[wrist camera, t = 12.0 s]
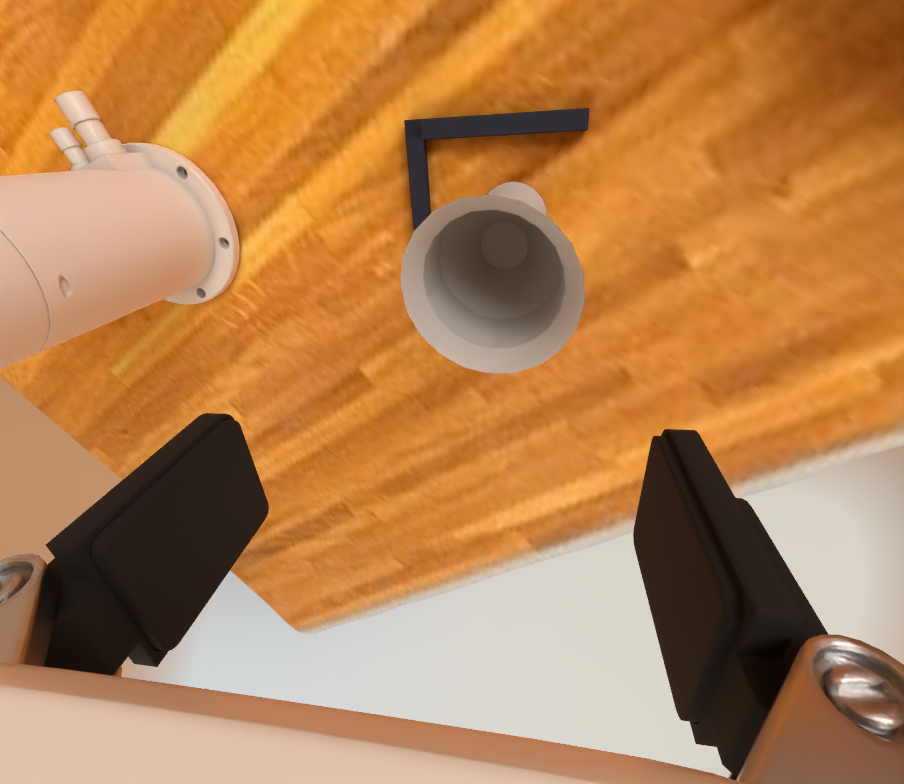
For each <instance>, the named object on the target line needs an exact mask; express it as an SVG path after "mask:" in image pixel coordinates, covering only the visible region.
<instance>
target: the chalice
mask: <svg viewBox="0 0 904 784" xmlns="http://www.w3.org/2000/svg"><path fill="white" fill-rule="evenodd" d="M400 286H401V290H402V294H403V298H404V302H405V306H406V310H407V313H408V315H409V316H410V318H411V320H412V321H413V323H414V325H415V327H416V328H417V330H418V332H419V333H420V335H421V336H422V337H423V338H424V339H425V340H426V341H427V342H428V343H429V344H430V345H431V346H432V347H433V348H434V349H435V350H436V351H437V352H438V353H439V354H441V355H443V356H444V357H446V358H448V359H450V360H451V361H453V362H455V363H457V364H459V365H460V366H462V367H465V368H469V369H473V370H477V371H480V372H484V373H516V372H519V371H522V370H526V369H529V368H532V367H535V366H538V365H540V364H542V363H543V362H545V361H546V360H547V359H549V358H550V357H552V356H553V355H554V354H556V353H557V352H559V351H560V350H561V349H562V348H563V346H564V345H565V344H566V342H567V341H568V340H569V338H570V337H571V335H572V334H573V333H574V331H575V330H576V328H577V326H578V323H579V319H580V316H581V312H582V309H583V306H584V302H585V294H584V276H583V270H582V267H581V265H580V262H579V260H578V257H577V255H576V252H575V250H574V247H573V245H572V243H571V242H570V241H569V239H568V238H567V237H566V236H565V235H564V233H563V232H562V231H561V230H560V229H559V228H558V226H557V225H556V224H555V223H554V222H553V220H552V219H550V218H549V217H547V213H546V207H545V204H544V202H543V199H542V198H541V196H540V195H539V194H538V193H537V191H536V190H535V189H533V188H532V187H530V186H528V185H527V184H524V183H519V182H508V183H503V184H501V185H499V186H497V187H495V188H493V189H492V190H491V191H490V192H489V193H488V194H487V195H483V196H472V197H462V198H459V199H457V200H455V201H453V202H451V203H449V204H447V205H445V206H442V207H440V208H438V209H436V210H434V211H433V212H432V213H431V214H430V215H429V216H428V217H427V218H426V219H425V220H424V221H423V222H422V223H421V225H420V226H419V227H418V228H417V229H416V230H415V231H414V232H413V234H412V236H411V239H410V241H409V243H408V246H407V248H406V250H405V253H404V255H403V257H402V269H401V285H400Z"/></svg>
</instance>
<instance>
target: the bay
mask: <svg viewBox="0 0 904 784" xmlns="http://www.w3.org/2000/svg"><path fill="white" fill-rule="evenodd" d="M588 120H589V108H584V109H569V110H554V111H538V112H523V113H508V114H493V115H477V116H462V117H447V118H431V119H416V120H405V121H404V122H405V134H406V145H407V157H408V168H409V180H410V191H411V203H412V214H413V226H414V231H415V230H416V229H417V228H418V227H419V226H420V225H421V223H422V222H423V221H424V220H425V219H426V218H427V217H428V216H429V215H430V214H431V207H430V192H429V178H428V163H427V148H426V140H431V139H448V138H466V137H483V136H501V135H518V134H535V133H553V132H570V131H586V130H587V129H588Z"/></svg>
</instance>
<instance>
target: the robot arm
mask: <svg viewBox="0 0 904 784" xmlns="http://www.w3.org/2000/svg"><path fill="white" fill-rule="evenodd" d="M55 102H56V103H57V105H58V106H59V108H60V109H61V111H62V112H63V114H64V115H65V117H66V118H67V120H68V121H69V123H70V124H71V126H72V127H73V128H74V129H75V130H76V131H77V132H78V134H79V135H80V137H81V138H82V140H83V141H84V143H85V144H86V146H87V147H86V148H85V149H84V151H83V149H82V146H81V144H80V143H79V141H78V140H77V138H76V137H75V135H74V134H73V132H72V131H71V129H70V128H68V127H62V128H58V129H54V130H52V131H51V132H50V133H49V134H50V135H51V137H52V138H53V140H54V141H55V143H56V144H57V146H58V147H59V148H60V150H61V151H62V153H64V154H65V155H66V157H67V158H68V160H69V161H70V163H71V164H72V167H71V168H70V170H71V171H63V172H49V173H35V174H21V175H6V176H0V369H3V368H5V367H7V366H9V365H12V364H14V363H16V362H19V361H21V360H23V359H25V358H28V357H30V356H33V355H35V354H38V353H40V352H42V351H45V350H47V349H49V348H51V347H54V346H56V345H58V344H61V343H63V342H65V341H68V340H70V339H72V338H75V337H77V336H79V335H81V334H84V333H86V332H88V331H91V330H93V329H95V328H98V327H100V326H102V325H105V324H107V323H109V322H112V321H114V320H116V319H118V318H121V317H123V316H125V315H128V314H130V313H132V312H135V311H137V310H139V309H142V308H144V307H146V306H148V305H151V304H153V303H155V302H158V301H160V300H162V299H163V300H166V301H169V302H173V303H178V304H198V303H203V302H206V301H208V300H210V299H212V298H215V297H216V296H218V295H219V294H221V293H222V292H224V291H225V290H226V289H227V287H228V286H229V285H230V284H231V283H232V281H233V279H234V277H235V274H236V272H237V268H238V264H239V255H240V245H239V238H238V231H237V228H236V225H235V222H234V219H233V216H232V214H231V211H230V209H229V207H228V205H227V203H226V201H225V199H224V198H223V196H222V195H221V193H220V192H219V190H218V189H217V187H216V186H215V185H214V183H213V182H212V181H211V180H210V179H209V178H208V177H207V176H206V174H205V173H204V172H203V171H202V170H200V169H199V168H198V167H197V166H196V165H195V164H193V163H192V162H191V161H190V160H188V159H187V158H185V157H184V156H182V155H180V154H179V153H177V152H175V151H173V150H171V149H168V148H166V147H163V146H161V145H156V144H150V143H126V144H122V143H121V142H120V141H119V140H118V139H112V138H111V136H110V135H109V133H108V132H107V130H106V129H105V127H104V125H103V124H102V119H101V118H100V116H99V115H98V113H97V111H96V110H95V108H94V107H93V105H92V104H91V102H90V100H89V99H88V97H87V96H86V94H85V93H84V92H82V91H69V92H65V93H62V94H60V95H58V96H57V97H56V98H55ZM268 509H269V505H268V501H267V499H266V496H265V493H264V490H263V488H262V485H261V482H260V479H259V476H258V474H257V471H256V468H255V465H254V463H253V460H252V457H251V454H250V451H249V449H248V446H247V443H246V440H245V437H244V435H243V432H242V429H241V426H240V424H239V423H238V422H237V421H235V420H234V418H233V417H232V416H231V415H228V414H212V413H206V414H202V415H200V416H199V417H197V418H196V419H195V420H194V421H193V422H191V423H190V424H189V425H188V426H187V427H185V428H184V429H183V430H182V431H181V432H180V433H178V434H177V435H176V436H175V437H174V438H172V439H171V440H170V441H169V442H168V443H166V444H165V445H164V446H163V447H162V448H160V449H159V450H158V451H157V452H156V453H155V454H153V455H152V456H151V457H150V458H149V459H147V460H146V461H145V462H144V463H143V464H141V465H140V466H139V467H138V468H137V469H135V470H134V471H133V472H132V473H131V474H129V475H128V476H127V477H126V478H125V479H124V480H122V481H121V482H120V483H119V484H118V485H117V486H115V487H114V488H113V489H112V490H110V491H109V492H108V493H107V494H106V495H105V496H103V497H102V498H101V499H100V500H99V501H97V502H96V503H95V504H94V505H93V506H91V507H90V508H89V509H88V510H87V511H85V512H84V513H83V514H82V515H81V516H80V517H78V518H77V519H76V520H75V521H73V522H72V523H71V524H70V525H69V526H68V527H66V528H65V529H64V530H63V531H62V532H60V533H59V534H58V535H57V536H56V537H54V538H53V539H52V540H51V541H50V542H49V543H48V544H46V546H47V547H48V549H49V550H50V551H51V553H52V554H53V555H54V557H55V559H53V560H52V561H51V562H50V563H49V564H48V565H47V564H46V562H45V561H44V560H43V559H42V558H41V557H40V556H38V555H33V554H24V555H16V556H13V557H10V558H6V559H3V560H0V784H904V665H903V664H902V663H900V662H899V661H897V660H895V659H894V658H892V657H891V656H889V655H888V654H886V653H885V652H883V651H882V650H880V649H877V648H875V647H873V646H871V645H869V644H866V643H864V642H862V641H860V640H856V639H852V638H849V637H845V636H841V635H828V633H827V631H826V630H825V628H824V627H823V625H822V623H821V621H820V620H819V618H818V617H817V615H816V613H815V612H814V610H813V608H812V606H811V605H810V603H809V601H808V600H807V598H806V597H805V595H804V593H803V591H802V590H801V588H800V587H799V585H798V583H797V582H796V580H795V578H794V577H793V575H792V573H791V572H790V570H789V568H788V567H787V565H786V563H785V562H784V560H783V558H782V557H781V555H780V553H779V552H778V550H777V548H776V547H775V545H774V543H773V542H772V540H771V538H770V537H769V535H768V533H767V532H766V530H765V528H764V527H763V525H762V523H761V522H760V520H759V518H758V517H757V515H756V513H755V512H754V510H753V509H752V507H751V506H750V505H749V503H748V502H747V501H745V500H744V499H742V498H735V496H734V495H733V493H732V491H731V489H730V488H729V486H728V484H727V482H726V481H725V479H724V477H723V475H722V474H721V472H720V470H719V468H718V467H717V465H716V463H715V461H714V460H713V458H712V456H711V454H710V453H709V451H708V449H707V447H706V446H705V444H704V442H703V440H702V439H701V437H700V435H699V434H698V432H697V431H695V430H673V429H665V430H664V431H663V433H662V435H661V436H654V437H653V438H652V442H651V446H650V451H649V456H648V461H647V466H646V471H645V476H644V481H643V486H642V491H641V496H640V501H639V506H638V511H637V516H636V521H635V526H634V535H633V536H634V546H635V550H636V554H637V558H638V562H639V566H640V570H641V574H642V578H643V582H644V585H645V589H646V593H647V597H648V601H649V605H650V609H651V613H652V617H653V621H654V625H655V629H656V633H657V636H658V640H659V644H660V648H661V652H662V656H663V660H664V664H665V668H666V672H667V676H668V680H669V683H670V687H671V691H672V695H673V699H674V703H675V707H676V710H677V713H678V716H679V717H680V719H681V720H684V721H690V724H691V727H692V731H693V735H694V739H695V742H696V744H701V745H707V746H714V747H717V749H718V752H719V755H720V758H721V761H722V765H724V766H725V767H726V768H727V769H728V770H729V771H730V772H731V773H730V775H729V778H726V777H722V776H719V775H716V774H713V773H708V772H704V771H700V770H695V769H691V768H687V767H682V766H678V765H673V764H669V763H664V762H660V761H656V760H651V759H646V758H640V757H634V756H629V755H623V754H617V753H611V752H606V751H599V750H594V749H588V748H583V747H577V746H571V745H565V744H560V743H553V742H548V741H542V740H537V739H530V738H523V737H517V736H511V735H505V734H498V733H492V732H485V731H479V730H472V729H466V728H459V727H452V726H446V725H439V724H434V723H427V722H421V721H414V720H408V719H401V718H395V717H388V716H382V715H375V714H369V713H362V712H355V711H348V710H342V709H335V708H328V707H322V706H315V705H309V704H301V703H295V702H288V701H282V700H275V699H268V698H262V697H255V696H248V695H241V694H235V693H228V692H221V691H214V690H208V689H201V688H194V687H187V686H180V685H173V684H165V683H158V682H152V681H145V680H138V679H131V678H124V677H121V671H122V667H121V665H122V664H123V662H124V661H125V660H126V658H127V657H128V656H129V658H130V659H131V660H132V662H133V663H134V664H140V665H147V666H155V667H158V665H159V664H160V662H161V661H162V659H163V658H164V657H165V655H166V654H167V652H168V651H169V650H172V649H173V648H174V647H176V646H177V645H178V644H179V642H180V641H181V639H182V638H183V637H184V635H185V634H186V632H187V631H188V630H189V628H190V627H191V625H192V624H193V622H194V621H195V619H196V618H197V617H198V615H199V614H200V612H201V611H202V609H203V608H204V607H205V605H206V603H207V602H208V601H209V599H210V598H211V596H212V595H213V593H214V592H215V591H216V589H217V588H218V586H219V585H220V583H221V582H222V581H223V579H224V578H225V576H226V575H227V573H228V572H229V571H230V569H231V568H232V566H233V565H234V563H235V562H236V560H237V559H238V558H239V556H240V555H241V553H242V552H243V550H244V549H245V548H246V546H247V545H248V543H249V542H250V540H251V539H252V537H253V536H254V535H255V533H256V532H257V530H258V529H259V527H260V526H261V525H262V523H263V522H264V520H265V519H266V517H267V514H268Z"/></svg>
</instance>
